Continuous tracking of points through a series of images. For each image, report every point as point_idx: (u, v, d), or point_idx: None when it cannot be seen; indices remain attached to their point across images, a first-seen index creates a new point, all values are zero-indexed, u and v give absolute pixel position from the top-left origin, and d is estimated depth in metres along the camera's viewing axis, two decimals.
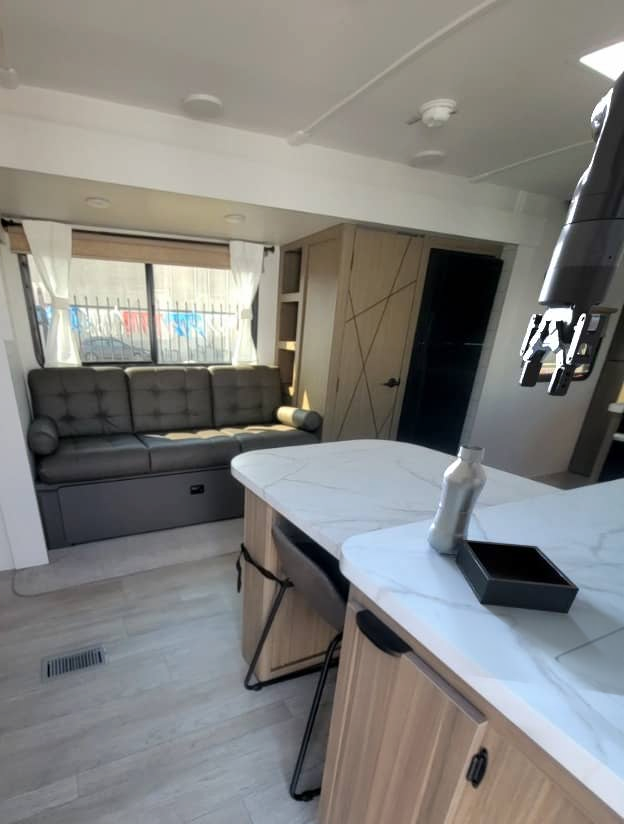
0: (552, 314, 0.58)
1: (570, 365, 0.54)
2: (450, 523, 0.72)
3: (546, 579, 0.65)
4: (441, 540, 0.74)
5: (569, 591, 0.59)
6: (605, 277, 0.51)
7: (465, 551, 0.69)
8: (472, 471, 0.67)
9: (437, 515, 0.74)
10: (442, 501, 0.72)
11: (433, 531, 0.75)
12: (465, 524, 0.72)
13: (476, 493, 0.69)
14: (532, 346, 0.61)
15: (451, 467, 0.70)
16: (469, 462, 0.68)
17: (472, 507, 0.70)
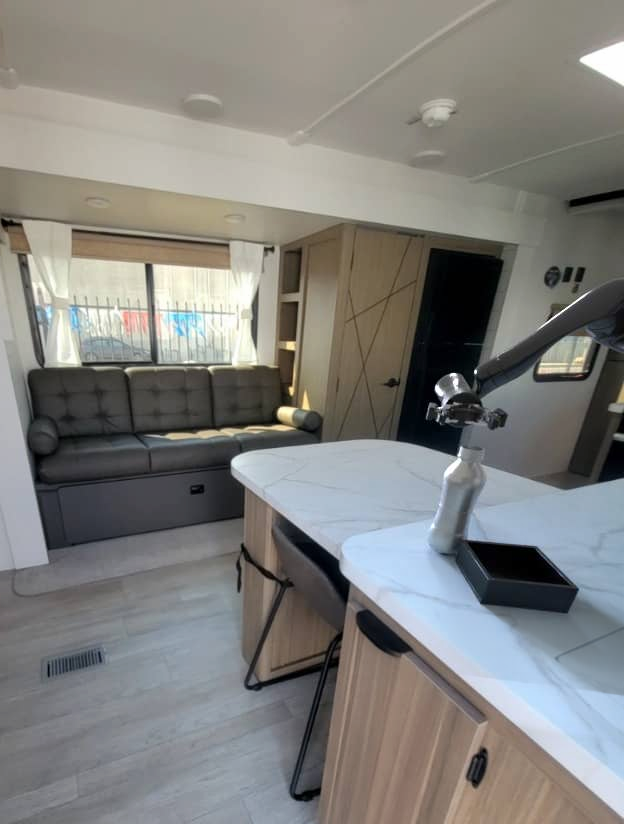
0: None
1: (500, 418, 0.78)
2: (450, 523, 0.72)
3: (546, 579, 0.65)
4: (441, 540, 0.74)
5: (569, 591, 0.59)
6: None
7: (465, 551, 0.69)
8: (472, 471, 0.67)
9: (437, 515, 0.74)
10: (442, 501, 0.72)
11: (433, 531, 0.75)
12: (465, 524, 0.72)
13: (476, 493, 0.69)
14: (451, 406, 0.82)
15: (451, 467, 0.70)
16: (469, 462, 0.68)
17: (472, 507, 0.70)
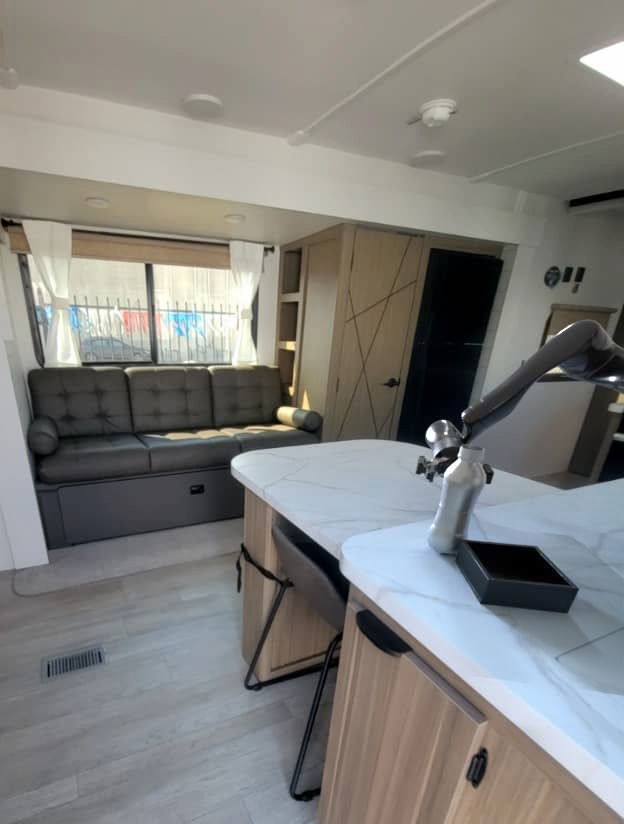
0: None
1: (487, 476, 0.80)
2: (450, 523, 0.72)
3: (546, 579, 0.65)
4: (441, 540, 0.74)
5: (569, 591, 0.59)
6: None
7: (465, 551, 0.69)
8: (472, 471, 0.67)
9: (437, 515, 0.74)
10: (442, 501, 0.72)
11: (433, 531, 0.75)
12: (465, 524, 0.72)
13: (476, 493, 0.69)
14: (439, 461, 0.84)
15: (451, 467, 0.70)
16: (469, 462, 0.68)
17: (472, 507, 0.70)
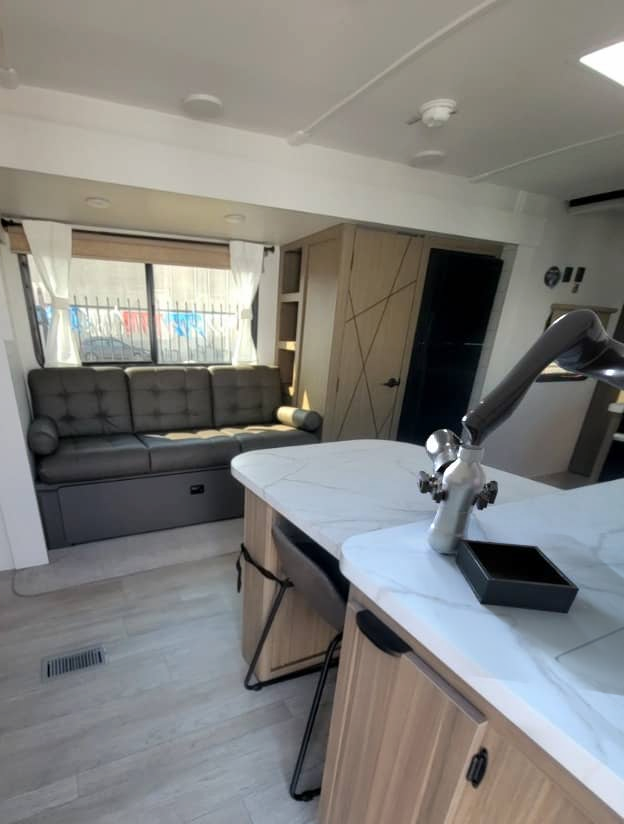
0: None
1: (490, 495, 0.72)
2: (450, 523, 0.72)
3: (546, 579, 0.65)
4: (440, 540, 0.74)
5: (569, 591, 0.59)
6: None
7: (465, 551, 0.69)
8: (471, 471, 0.67)
9: (437, 515, 0.74)
10: (442, 501, 0.72)
11: (432, 532, 0.75)
12: (465, 524, 0.72)
13: (475, 493, 0.69)
14: None
15: (450, 467, 0.70)
16: (468, 462, 0.68)
17: (472, 507, 0.70)
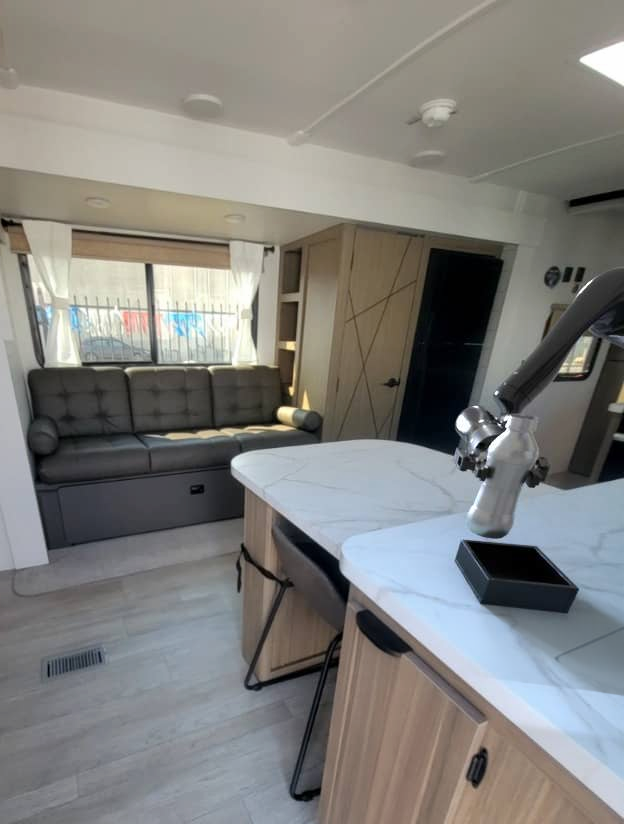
0: None
1: (541, 471, 0.64)
2: (495, 503, 0.64)
3: (546, 579, 0.65)
4: (484, 522, 0.66)
5: (569, 591, 0.59)
6: None
7: (465, 551, 0.69)
8: (523, 442, 0.59)
9: (479, 495, 0.66)
10: (486, 479, 0.64)
11: (474, 514, 0.67)
12: (513, 504, 0.64)
13: (527, 468, 0.60)
14: None
15: (498, 439, 0.62)
16: (520, 433, 0.60)
17: (521, 485, 0.62)
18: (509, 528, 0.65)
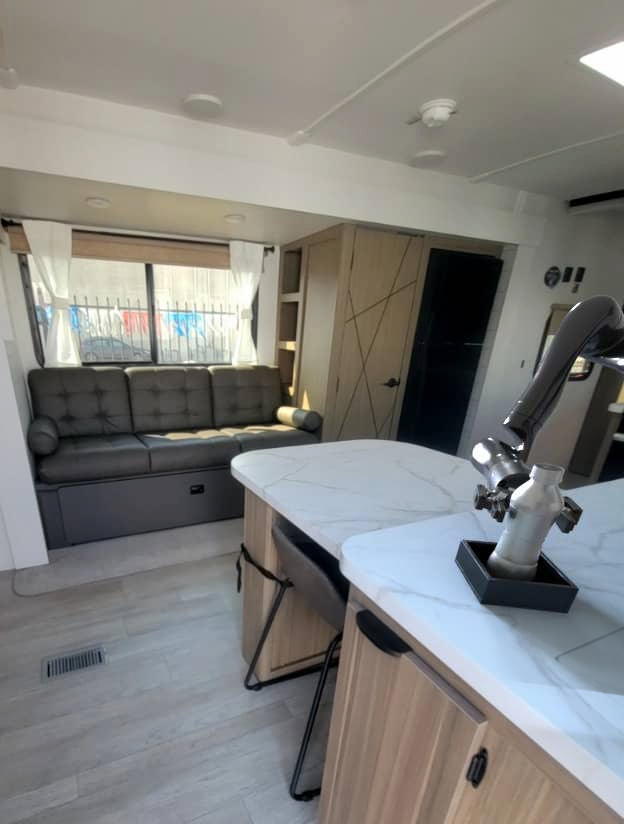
0: None
1: (573, 515, 0.62)
2: (517, 553, 0.62)
3: (546, 579, 0.65)
4: (505, 571, 0.64)
5: (569, 591, 0.59)
6: None
7: (465, 551, 0.69)
8: (549, 494, 0.58)
9: (501, 543, 0.64)
10: (508, 527, 0.63)
11: (495, 561, 0.65)
12: (536, 555, 0.62)
13: (552, 520, 0.59)
14: (507, 494, 0.65)
15: (521, 489, 0.60)
16: (545, 484, 0.58)
17: (545, 535, 0.61)
18: (531, 578, 0.63)
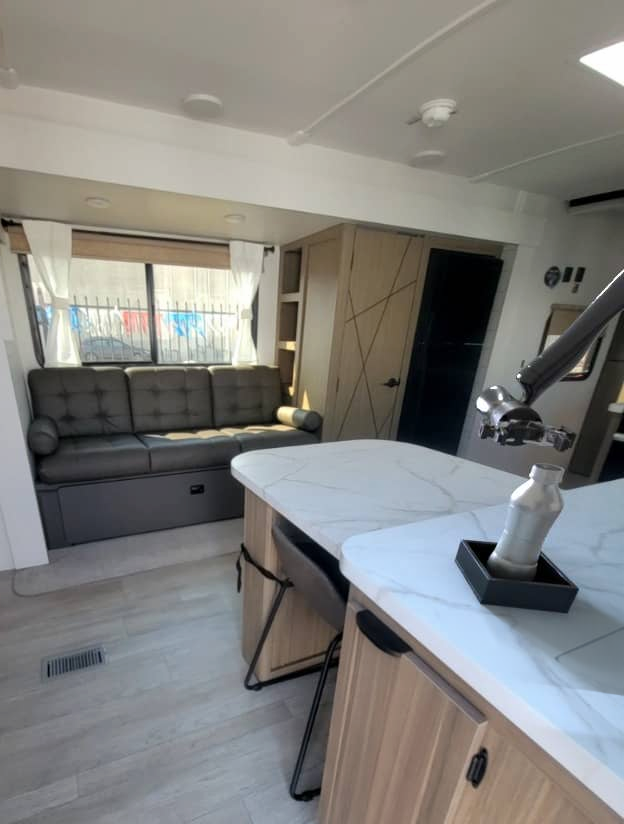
0: None
1: (569, 438, 0.68)
2: (517, 553, 0.62)
3: (546, 579, 0.65)
4: (505, 571, 0.64)
5: (569, 591, 0.59)
6: None
7: (465, 551, 0.69)
8: (548, 494, 0.58)
9: (501, 543, 0.64)
10: (508, 527, 0.63)
11: (495, 561, 0.65)
12: (536, 555, 0.62)
13: (552, 520, 0.59)
14: (509, 423, 0.72)
15: (521, 489, 0.60)
16: (545, 484, 0.58)
17: (545, 535, 0.61)
18: (531, 578, 0.63)
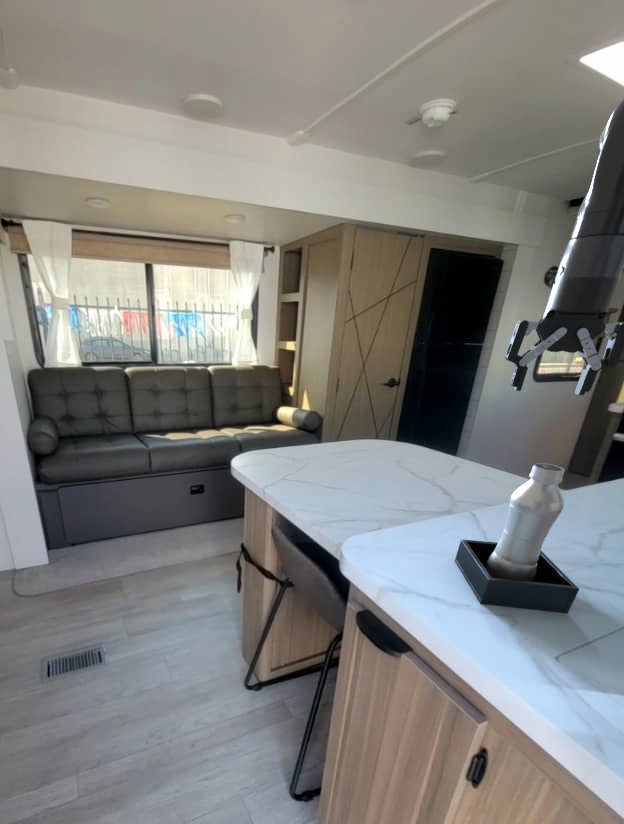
0: (563, 321, 0.60)
1: (603, 367, 0.61)
2: (517, 553, 0.62)
3: (546, 579, 0.65)
4: (505, 571, 0.64)
5: (569, 591, 0.59)
6: None
7: (465, 551, 0.69)
8: (548, 494, 0.58)
9: (501, 543, 0.64)
10: (508, 527, 0.63)
11: (495, 561, 0.65)
12: (536, 555, 0.62)
13: (552, 520, 0.59)
14: (541, 352, 0.62)
15: (521, 489, 0.60)
16: (545, 484, 0.58)
17: (545, 535, 0.61)
18: (531, 578, 0.63)
